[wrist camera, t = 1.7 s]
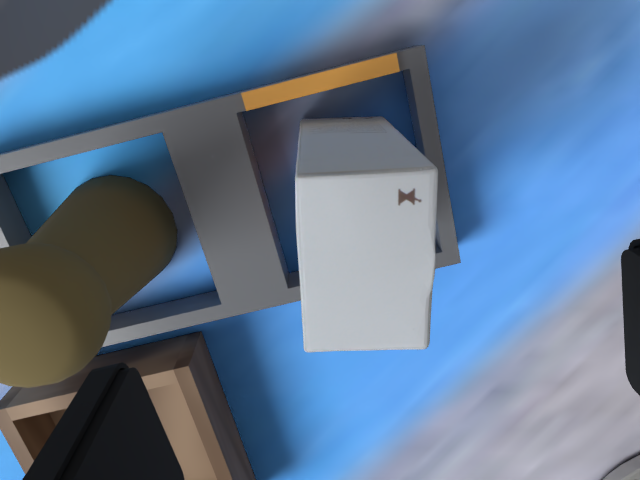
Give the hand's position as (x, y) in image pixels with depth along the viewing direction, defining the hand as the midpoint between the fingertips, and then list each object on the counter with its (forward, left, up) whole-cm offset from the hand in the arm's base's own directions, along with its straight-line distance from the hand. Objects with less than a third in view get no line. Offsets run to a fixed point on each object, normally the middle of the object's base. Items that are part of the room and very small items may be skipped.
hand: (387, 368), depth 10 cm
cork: (+12, 0, -18) cm, 22 cm away
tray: (+15, +13, -18) cm, 27 cm away
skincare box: (0, 0, -18) cm, 18 cm away
